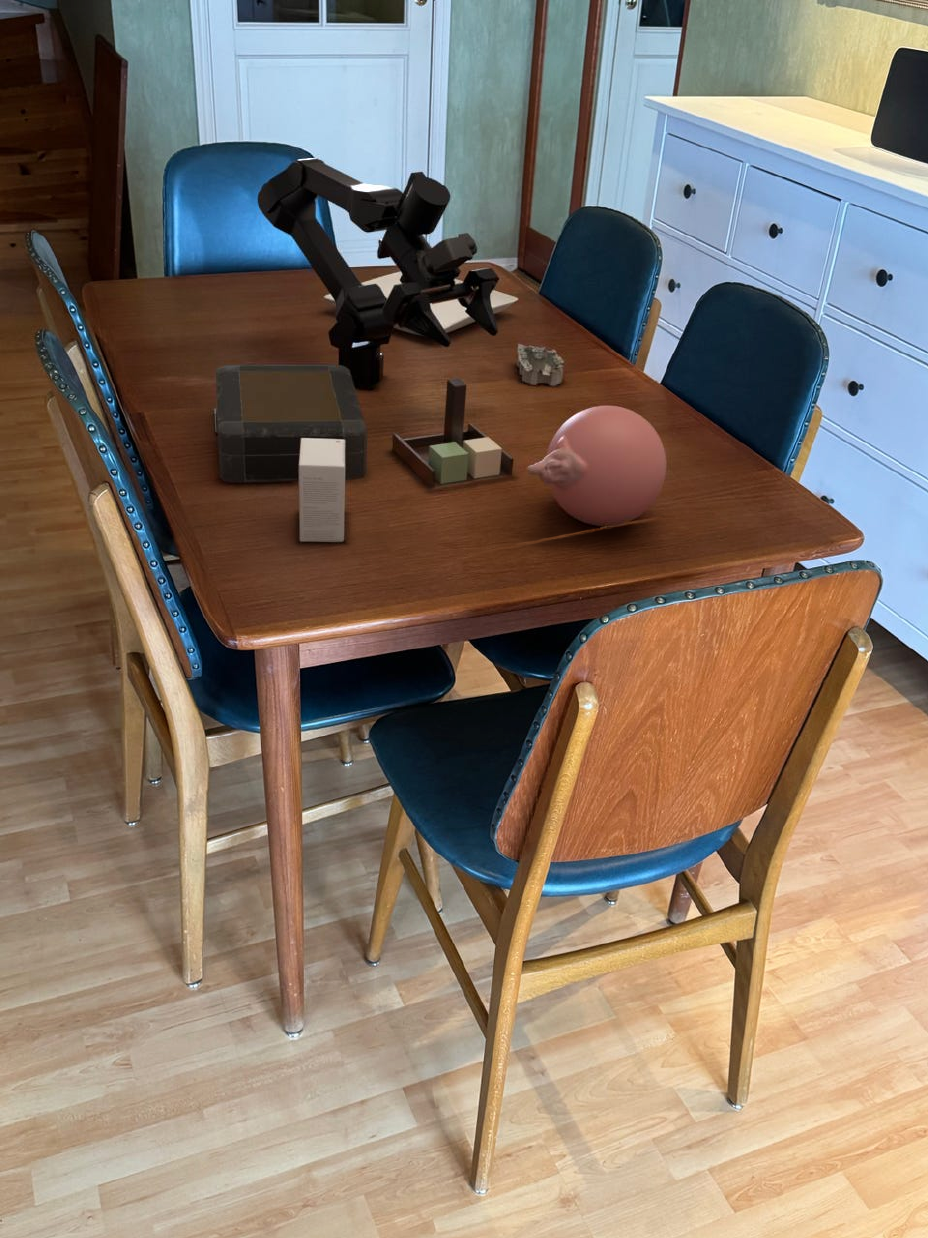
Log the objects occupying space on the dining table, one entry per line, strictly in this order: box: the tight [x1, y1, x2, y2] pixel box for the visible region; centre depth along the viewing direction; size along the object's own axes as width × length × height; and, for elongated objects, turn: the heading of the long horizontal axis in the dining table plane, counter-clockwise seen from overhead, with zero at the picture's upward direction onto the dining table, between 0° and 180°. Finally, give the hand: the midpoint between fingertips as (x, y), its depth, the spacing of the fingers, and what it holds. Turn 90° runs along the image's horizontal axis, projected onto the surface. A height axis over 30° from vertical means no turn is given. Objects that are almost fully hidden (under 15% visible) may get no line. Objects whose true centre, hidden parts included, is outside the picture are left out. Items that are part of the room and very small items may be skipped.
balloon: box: [526, 405, 667, 527], centre depth 142 cm, size 15×20×15 cm
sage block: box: [429, 442, 468, 484], centre depth 152 cm, size 4×4×4 cm
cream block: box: [463, 436, 503, 478], centre depth 154 cm, size 4×4×4 cm
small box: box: [298, 438, 346, 543], centre depth 137 cm, size 8×6×10 cm
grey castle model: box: [516, 343, 565, 387], centre depth 189 cm, size 11×8×4 cm
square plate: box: [323, 270, 519, 337], centre depth 213 cm, size 27×27×4 cm
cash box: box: [212, 364, 368, 484], centre depth 157 cm, size 25×20×8 cm
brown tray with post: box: [391, 378, 515, 489], centre depth 154 cm, size 13×13×12 cm
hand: (472, 339), depth 159 cm, fingers open, 9 cm apart
